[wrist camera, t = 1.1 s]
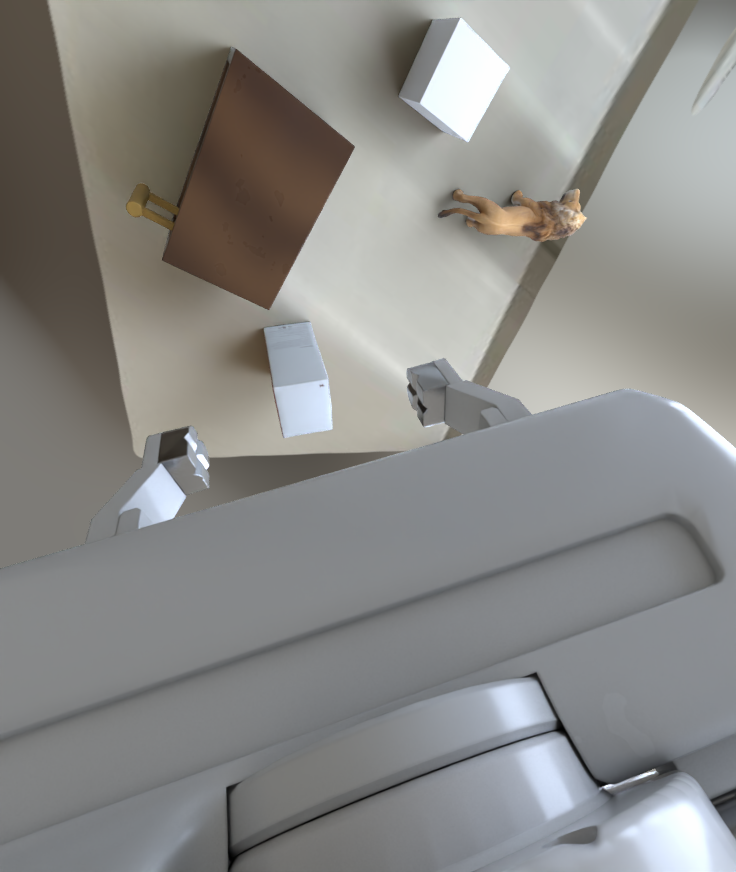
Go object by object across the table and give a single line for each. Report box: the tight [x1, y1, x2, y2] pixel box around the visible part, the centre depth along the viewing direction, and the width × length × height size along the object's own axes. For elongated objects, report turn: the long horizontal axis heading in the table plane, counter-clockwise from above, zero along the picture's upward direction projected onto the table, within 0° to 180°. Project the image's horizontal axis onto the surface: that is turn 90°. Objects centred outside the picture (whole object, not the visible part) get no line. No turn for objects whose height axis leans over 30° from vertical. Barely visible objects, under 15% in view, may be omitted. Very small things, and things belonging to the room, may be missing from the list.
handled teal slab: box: [126, 183, 179, 231], centre depth 35 cm, size 7×4×7 cm, turn 145°
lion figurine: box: [438, 189, 587, 242], centre depth 46 cm, size 15×5×9 cm, turn 93°
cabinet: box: [162, 47, 355, 310], centre depth 37 cm, size 16×10×10 cm, turn 145°
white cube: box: [398, 18, 510, 142], centre depth 37 cm, size 6×6×6 cm
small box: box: [263, 322, 333, 438], centre depth 50 cm, size 8×6×13 cm
